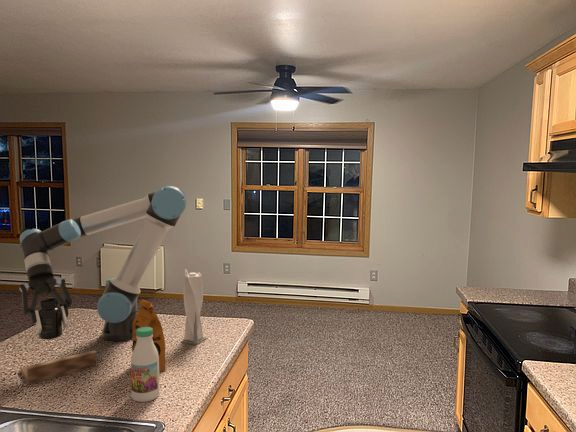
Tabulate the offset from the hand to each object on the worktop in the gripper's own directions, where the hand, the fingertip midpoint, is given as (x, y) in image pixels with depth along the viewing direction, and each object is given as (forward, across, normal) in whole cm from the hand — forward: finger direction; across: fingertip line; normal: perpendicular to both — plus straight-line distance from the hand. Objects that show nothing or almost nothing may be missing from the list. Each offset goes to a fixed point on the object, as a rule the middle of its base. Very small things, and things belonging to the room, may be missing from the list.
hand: (53, 327), depth 140 cm
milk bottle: (+34, -16, +12) cm, 39 cm away
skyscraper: (+12, -49, -10) cm, 51 cm away
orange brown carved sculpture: (+21, -25, 0) cm, 33 cm away
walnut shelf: (+8, -2, -13) cm, 16 cm away
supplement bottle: (0, 0, -5) cm, 5 cm away
